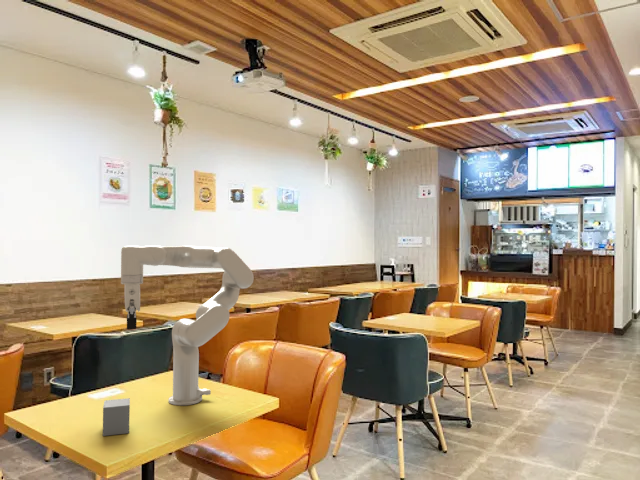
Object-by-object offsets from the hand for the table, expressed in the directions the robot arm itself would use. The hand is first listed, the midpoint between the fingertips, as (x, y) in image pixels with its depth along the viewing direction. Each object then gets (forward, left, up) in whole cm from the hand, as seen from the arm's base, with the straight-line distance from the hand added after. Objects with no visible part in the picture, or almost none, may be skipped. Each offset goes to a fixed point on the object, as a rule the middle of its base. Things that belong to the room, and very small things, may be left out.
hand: (131, 327), depth 178 cm
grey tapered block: (+4, +19, -30) cm, 36 cm away
